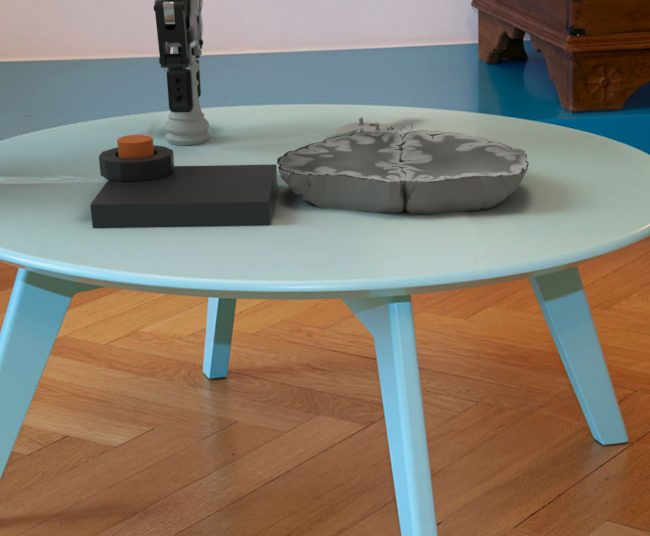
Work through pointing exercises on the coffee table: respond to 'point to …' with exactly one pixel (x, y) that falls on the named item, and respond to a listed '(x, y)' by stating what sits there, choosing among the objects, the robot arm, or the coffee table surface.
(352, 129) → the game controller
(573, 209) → the coffee table surface
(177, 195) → the scale
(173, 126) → the rook chess piece
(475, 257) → the coffee table surface
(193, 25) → the robot arm
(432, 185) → the brain slice
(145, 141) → the button
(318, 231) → the coffee table surface
